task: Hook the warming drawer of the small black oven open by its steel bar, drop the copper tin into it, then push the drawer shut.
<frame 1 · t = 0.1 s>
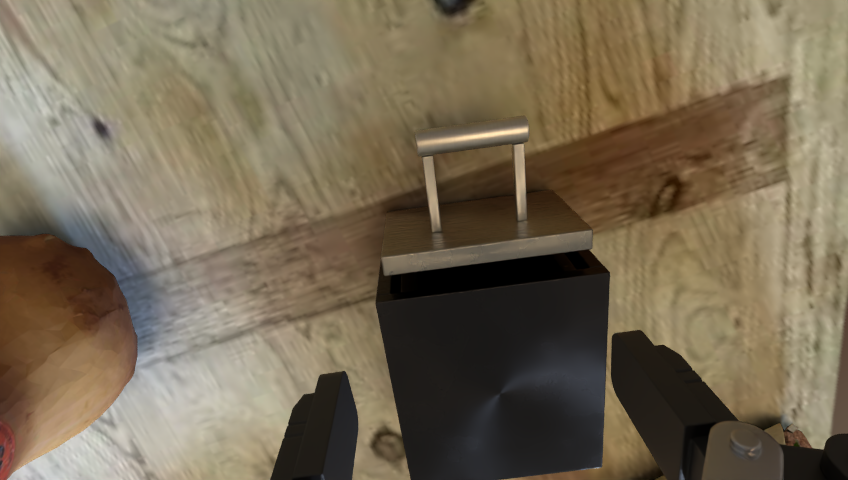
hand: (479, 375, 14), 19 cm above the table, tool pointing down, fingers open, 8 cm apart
butternut squash: (80, 289, 34), on the table
oven drawer: (481, 274, 29), point 5 cm above the table, slide at 1.0 cm
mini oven: (478, 311, 35), on the table
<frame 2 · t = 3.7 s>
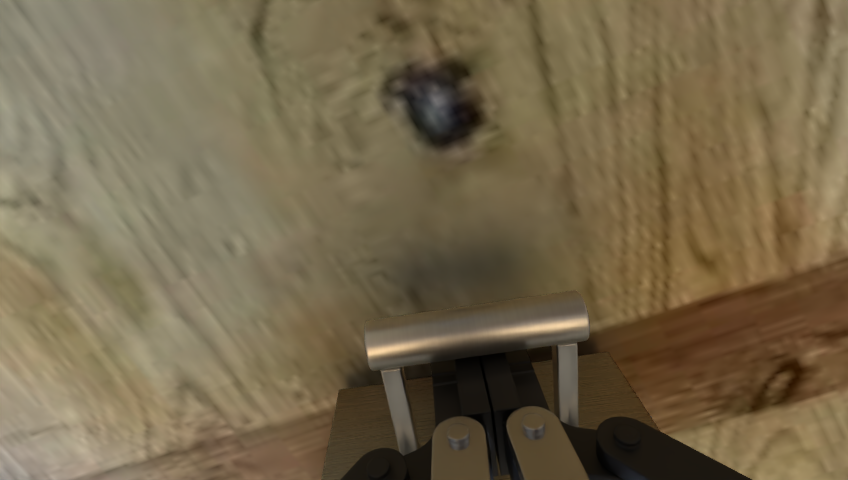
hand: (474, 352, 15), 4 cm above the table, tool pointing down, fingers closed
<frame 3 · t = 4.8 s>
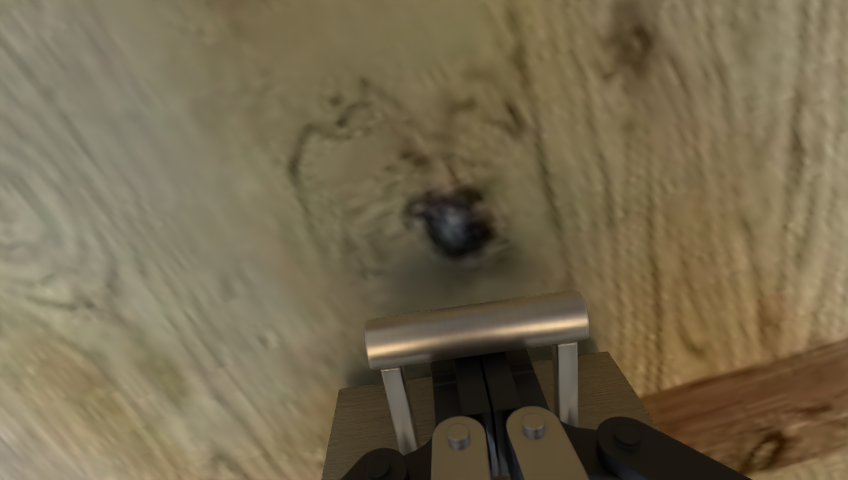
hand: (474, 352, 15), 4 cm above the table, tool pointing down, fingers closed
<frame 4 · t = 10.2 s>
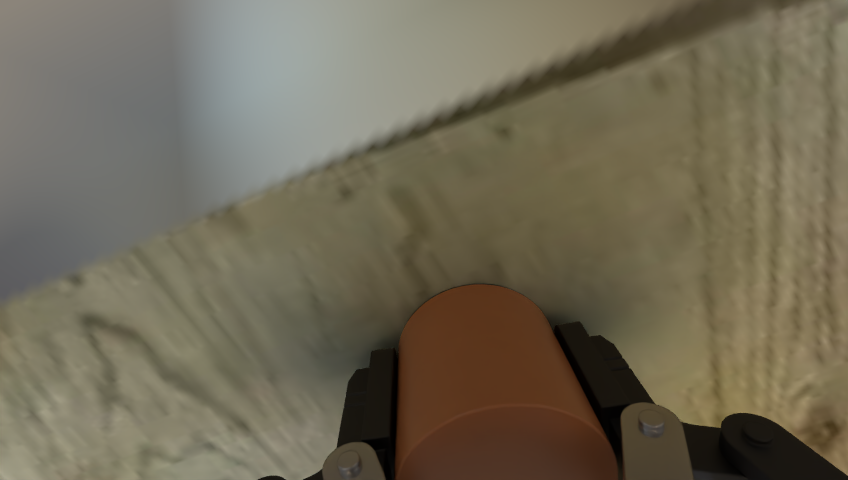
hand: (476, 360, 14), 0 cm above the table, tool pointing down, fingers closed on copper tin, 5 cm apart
copper tin: (475, 351, 15), on the table, touching gripper
when the fingers open (9 cm above the table, at t = 16.6 s): copper tin drops 7 cm, resting on oven drawer.
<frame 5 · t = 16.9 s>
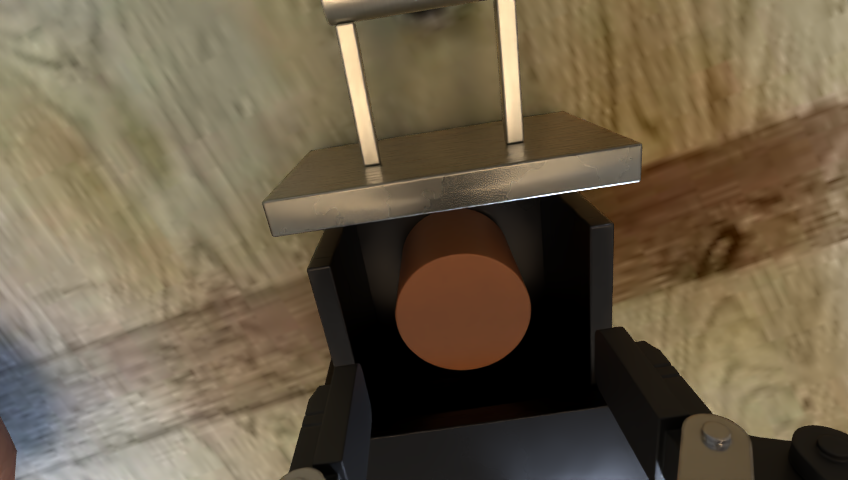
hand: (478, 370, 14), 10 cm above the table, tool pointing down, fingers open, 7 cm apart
oven drawer: (453, 240, 18), point 5 cm above the table, slide at 7.7 cm, touching copper tin
copper tin: (455, 258, 21), point 2 cm above the table, touching oven drawer
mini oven: (471, 397, 27), on the table
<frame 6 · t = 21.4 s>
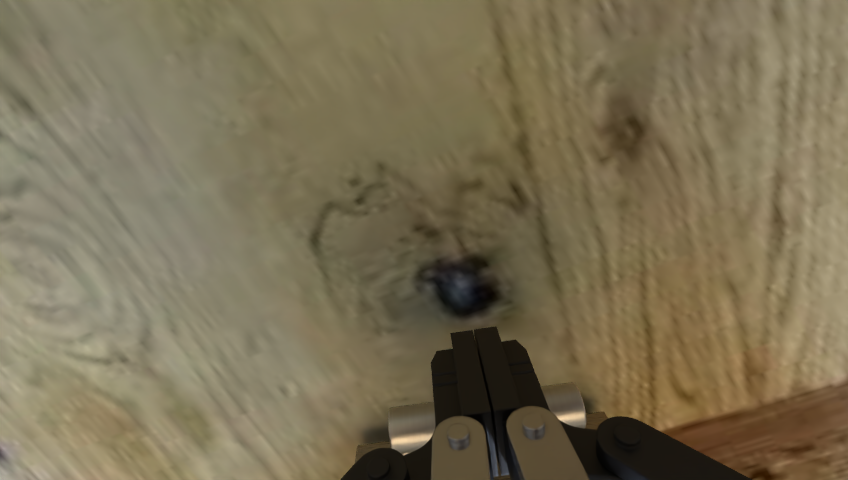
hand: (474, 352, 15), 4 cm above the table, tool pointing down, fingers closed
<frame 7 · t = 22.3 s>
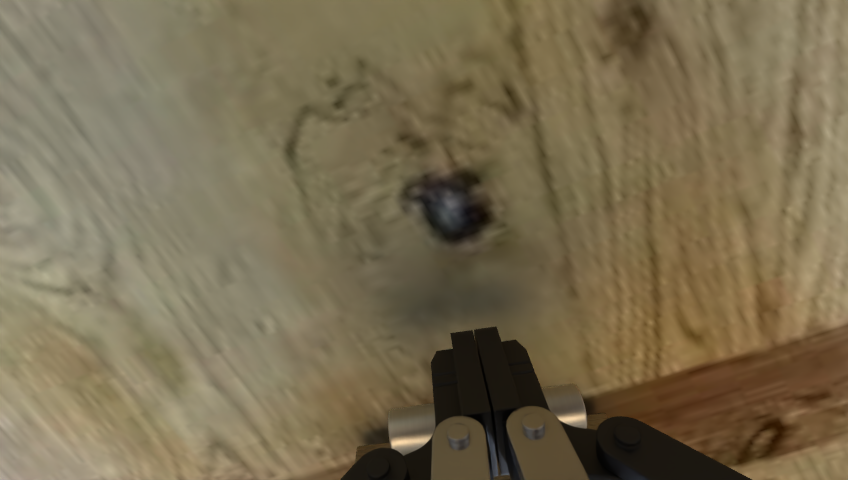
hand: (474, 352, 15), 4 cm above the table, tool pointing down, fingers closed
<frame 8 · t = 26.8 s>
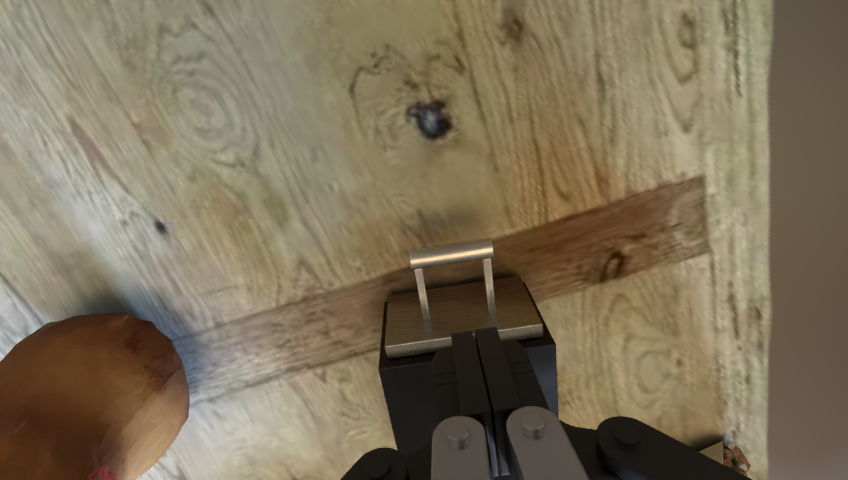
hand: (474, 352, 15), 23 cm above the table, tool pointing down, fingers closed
butternut squash: (139, 347, 41), on the table
oven drawer: (463, 347, 37), point 5 cm above the table, slide at 0.0 cm, touching copper tin
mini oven: (463, 357, 43), on the table
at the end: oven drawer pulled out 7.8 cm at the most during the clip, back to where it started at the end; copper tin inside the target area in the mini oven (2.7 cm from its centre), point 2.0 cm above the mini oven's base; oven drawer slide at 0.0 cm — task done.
